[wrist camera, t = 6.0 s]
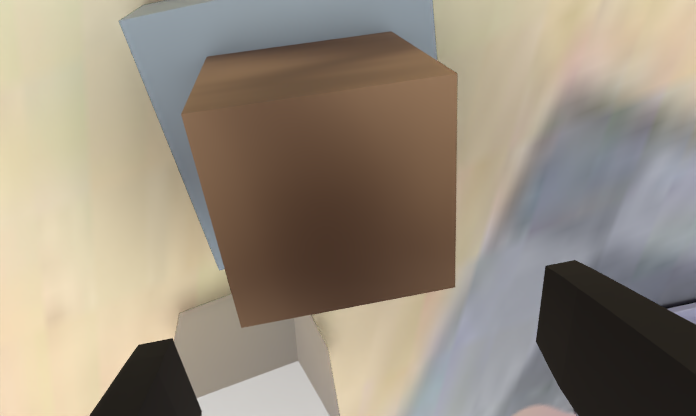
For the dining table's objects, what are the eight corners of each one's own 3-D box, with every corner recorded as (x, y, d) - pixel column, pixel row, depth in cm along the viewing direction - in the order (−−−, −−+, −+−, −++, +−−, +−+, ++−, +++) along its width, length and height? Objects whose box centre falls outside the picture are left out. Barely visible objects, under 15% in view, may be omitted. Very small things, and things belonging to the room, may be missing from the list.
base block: (394, -50, 15) (428, -46, 12) (419, 170, 19) (449, 213, 16) (145, 3, 15) (118, 20, 12) (224, 217, 19) (219, 270, 16)
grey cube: (288, 271, 20) (298, 360, 16) (327, 347, 23) (344, 442, 19) (179, 312, 21) (159, 411, 16) (230, 383, 23) (225, 485, 19)
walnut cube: (391, 31, 13) (457, 73, 9) (400, 192, 16) (455, 287, 11) (206, 56, 13) (180, 114, 8) (245, 218, 15) (241, 328, 11)
